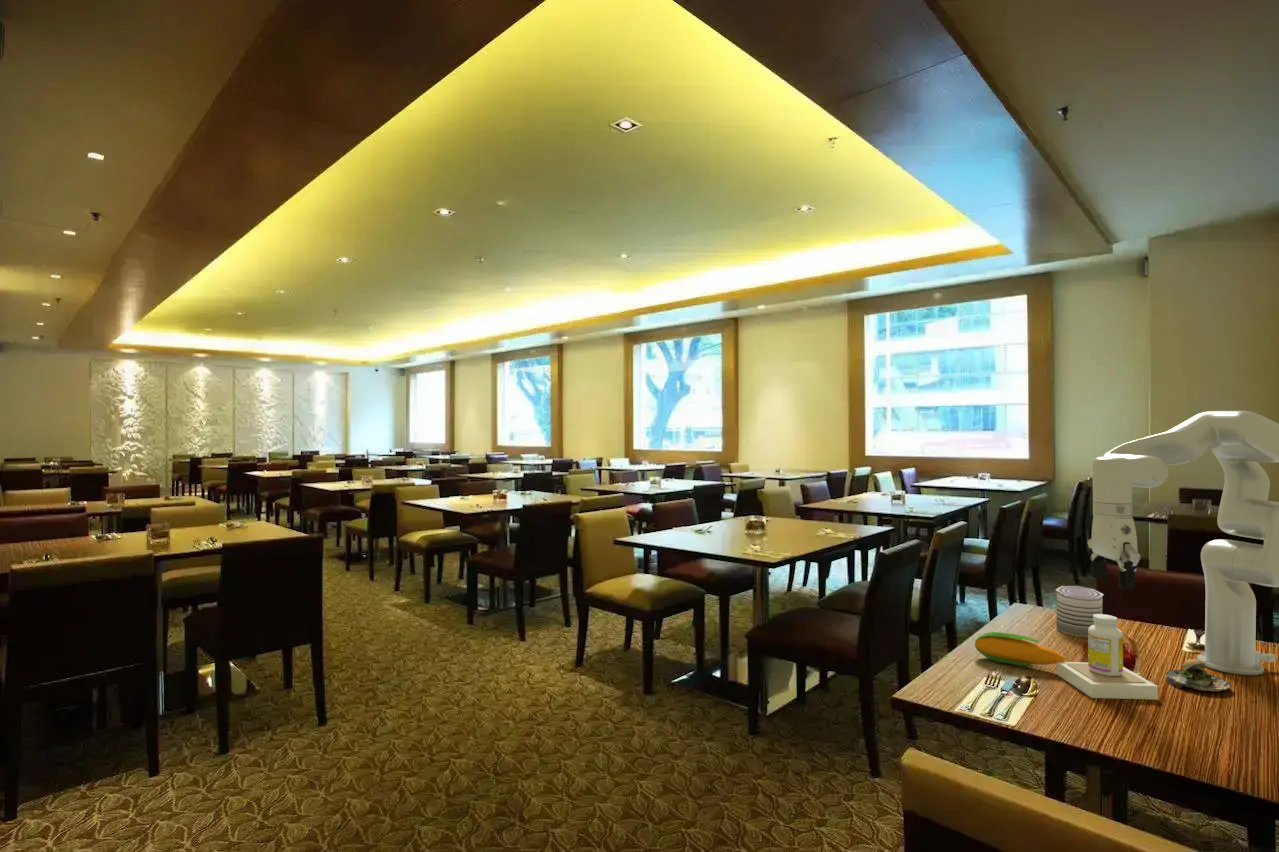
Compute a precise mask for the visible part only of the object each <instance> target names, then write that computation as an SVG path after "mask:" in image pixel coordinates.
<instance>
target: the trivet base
mask: <svg viewBox="0 0 1279 852" xmlns="http://www.w3.org/2000/svg"><path fill="white" fill-rule="evenodd" d="M1056 675H1057V676H1058V677H1061V678H1062V679H1063V680H1065V681H1066V682H1067V683H1069V684H1070V685H1072V686H1074V687H1075V688H1076V689H1078V690H1079V691H1080V692H1082V693H1084V694H1085V695H1087V696H1088V697H1090V698H1091V699H1116V700H1117V699H1120V700H1121V699H1125V700H1126V699H1127V700H1158V699H1159V698H1158V692H1159V690H1158V686H1159V685H1158V684H1157V685H1156V684H1155V683H1153V682H1151V681H1149V680H1148V679H1146V678H1144V677H1142V676H1140V675H1139V674H1137V673H1136V672H1133V671H1132V670H1130V669H1128V668H1126V667H1125V666H1123V674H1122V675H1120V676H1105V675H1100V674H1097V673H1095V672H1093V671H1091V670H1090V669H1089V666H1088V662H1079V661H1073V662H1072V661H1063V662H1057V664H1056Z"/></svg>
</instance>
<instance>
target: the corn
mask: <svg viewBox="0 0 1279 852" xmlns="http://www.w3.org/2000/svg"><path fill="white" fill-rule="evenodd" d="M1036 642H1039V640H1038V639H1035V638H1031V636H1030V637H1029V636H1026V635H1020V634H1015V633H1006V632H1000V631H990V632H986V633H983V634H981V635H979V636H978V637H977V638H976V639H975V641H974V646H975V647H974V648H975V649H976V650H977V651H978V653H980V655H982V656H984V657H985V658H986V659H990V660H991V661H994V662H999V663H1004V664H1009V665H1014V666H1019V667H1028V668H1033V665H1038V666H1045V665H1046V666H1047V665H1057V662H1065V660H1066V657H1065V656H1064V655H1063V654H1061V653H1060V652H1059V651H1057V650H1055V649H1054V648H1051V647H1047V646H1045V645H1042V644H1038V643H1036Z"/></svg>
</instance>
